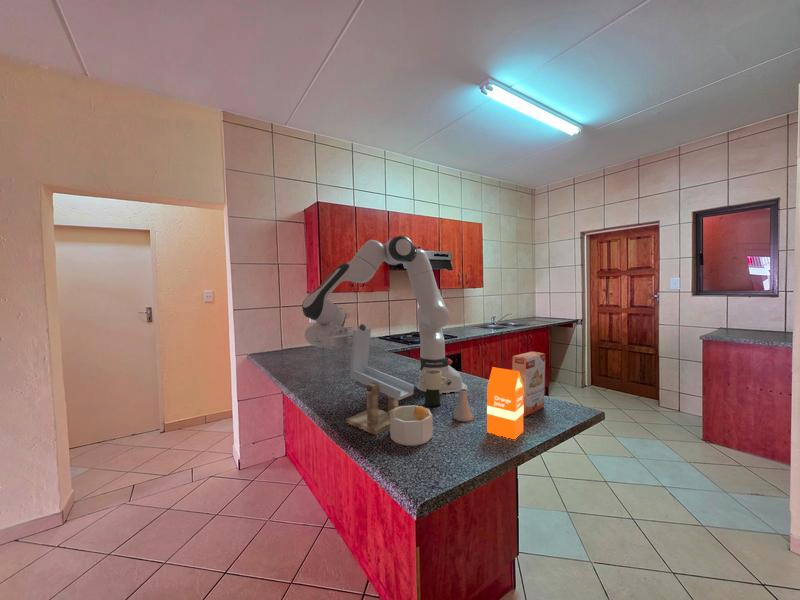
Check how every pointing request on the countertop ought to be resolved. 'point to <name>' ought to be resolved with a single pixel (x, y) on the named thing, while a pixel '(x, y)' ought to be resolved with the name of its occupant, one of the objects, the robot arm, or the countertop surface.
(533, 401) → the cracker box
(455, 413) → the flask
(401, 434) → the cup
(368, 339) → the tipping trough
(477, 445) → the countertop surface
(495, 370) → the orange juice
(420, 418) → the ball
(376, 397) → the trough stand
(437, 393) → the character mug
